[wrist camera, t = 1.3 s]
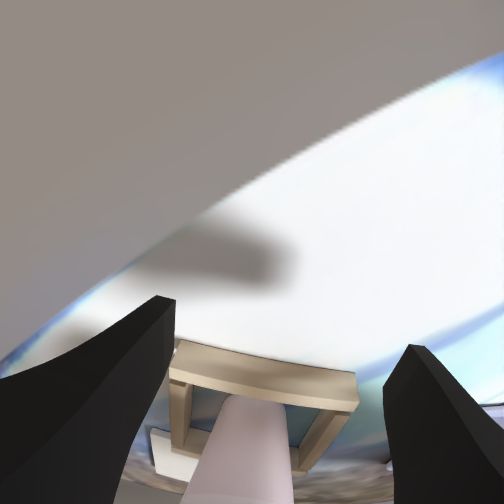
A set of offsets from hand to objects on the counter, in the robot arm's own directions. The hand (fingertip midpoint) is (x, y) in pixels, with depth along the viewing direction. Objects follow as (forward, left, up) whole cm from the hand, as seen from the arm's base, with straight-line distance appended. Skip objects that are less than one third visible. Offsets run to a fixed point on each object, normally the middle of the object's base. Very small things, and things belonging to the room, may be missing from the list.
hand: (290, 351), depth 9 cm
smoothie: (0, +9, -5) cm, 10 cm away
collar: (0, +9, -4) cm, 10 cm away
